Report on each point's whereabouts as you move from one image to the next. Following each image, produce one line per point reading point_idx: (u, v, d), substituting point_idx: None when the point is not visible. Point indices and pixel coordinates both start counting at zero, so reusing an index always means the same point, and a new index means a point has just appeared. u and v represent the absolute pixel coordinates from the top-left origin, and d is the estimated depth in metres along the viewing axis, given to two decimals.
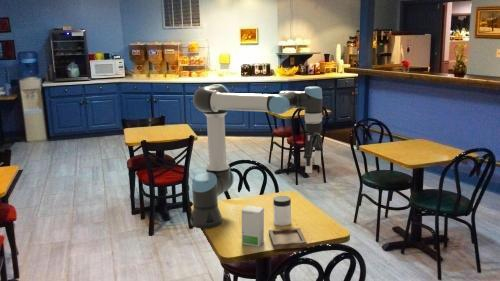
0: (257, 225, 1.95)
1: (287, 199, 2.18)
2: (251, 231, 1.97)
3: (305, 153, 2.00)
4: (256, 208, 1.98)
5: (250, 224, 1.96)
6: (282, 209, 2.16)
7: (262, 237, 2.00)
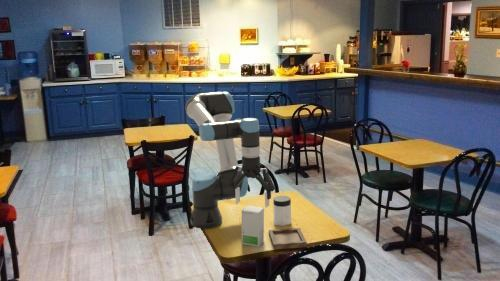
0: (257, 225, 1.95)
1: (287, 199, 2.18)
2: (251, 231, 1.97)
3: None
4: (256, 208, 1.98)
5: (250, 224, 1.96)
6: (282, 209, 2.16)
7: (262, 237, 2.00)
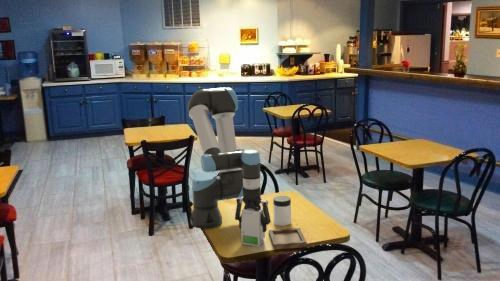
0: (257, 225, 1.95)
1: (287, 199, 2.18)
2: (251, 231, 1.97)
3: None
4: None
5: (250, 224, 1.96)
6: (282, 209, 2.16)
7: None
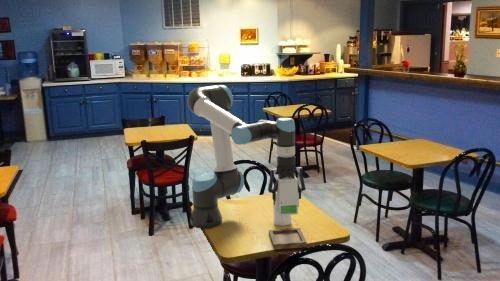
0: (296, 193, 1.95)
1: None
2: (290, 199, 1.95)
3: (268, 186, 1.97)
4: None
5: (289, 193, 1.94)
6: None
7: None
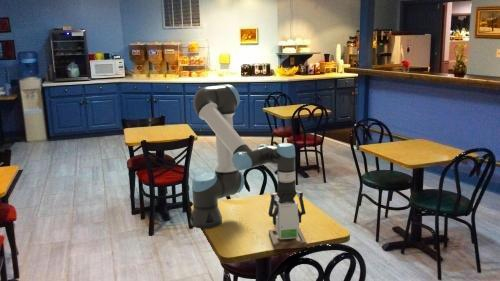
0: (296, 217, 1.97)
1: None
2: (290, 224, 1.97)
3: (269, 210, 1.99)
4: None
5: (289, 218, 1.96)
6: None
7: None
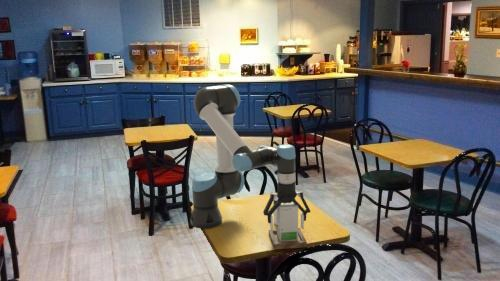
0: (296, 220, 1.97)
1: None
2: (290, 226, 1.97)
3: (264, 209, 1.99)
4: (290, 203, 2.00)
5: (289, 220, 1.97)
6: None
7: None
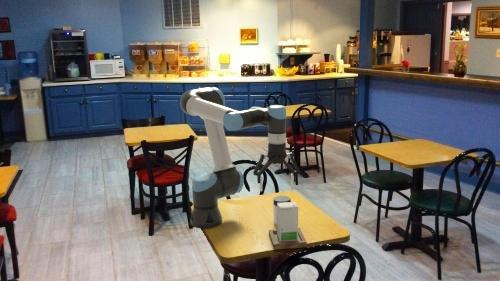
0: (296, 220, 1.97)
1: (287, 199, 2.18)
2: (290, 226, 1.97)
3: (254, 169, 2.00)
4: (290, 203, 2.00)
5: (289, 220, 1.97)
6: None
7: None
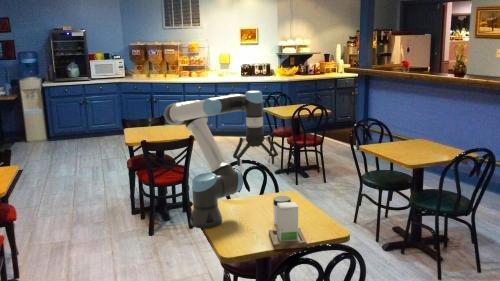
0: (296, 220, 1.97)
1: (287, 199, 2.18)
2: (290, 226, 1.97)
3: (234, 152, 2.09)
4: (290, 203, 2.00)
5: (289, 220, 1.97)
6: None
7: None
